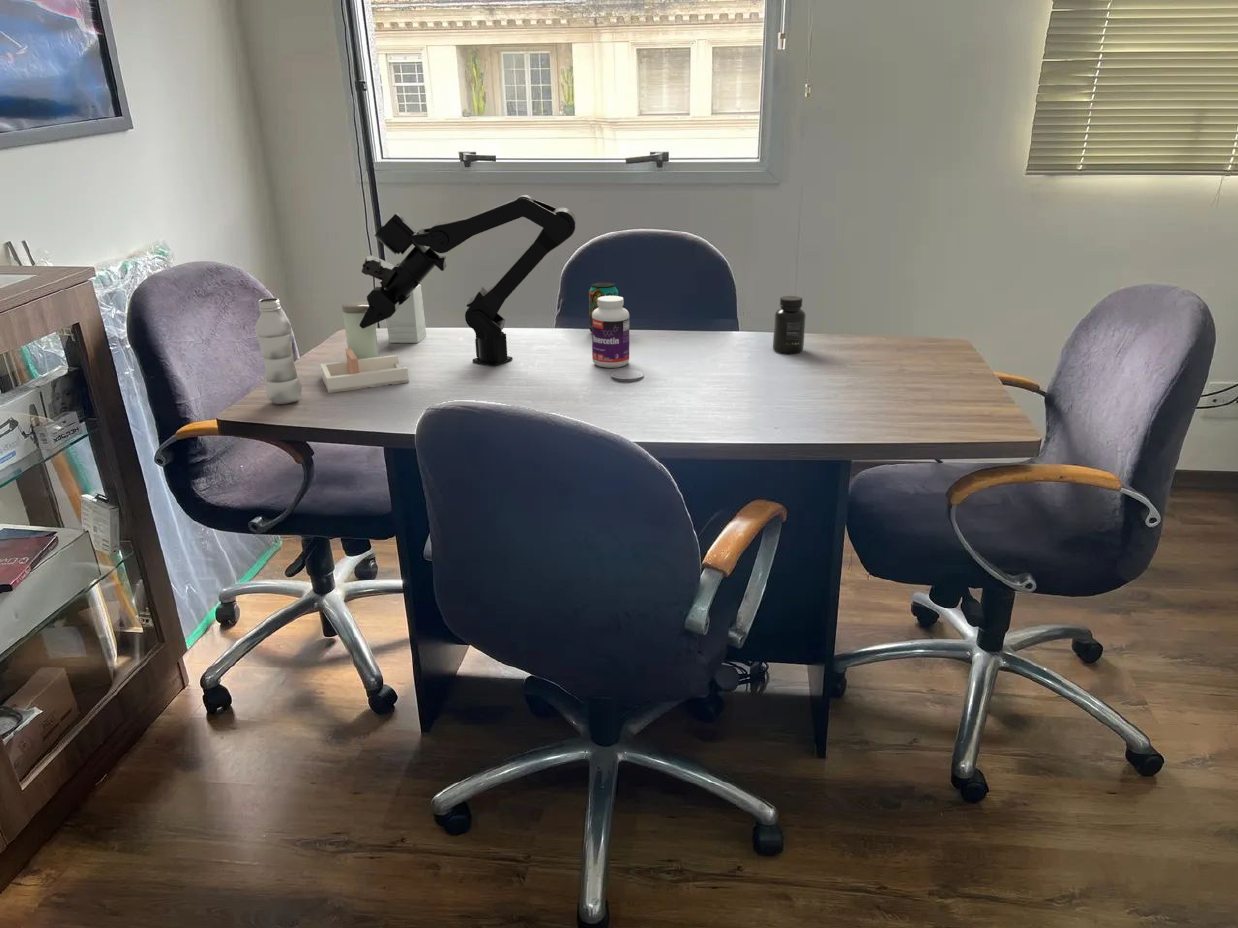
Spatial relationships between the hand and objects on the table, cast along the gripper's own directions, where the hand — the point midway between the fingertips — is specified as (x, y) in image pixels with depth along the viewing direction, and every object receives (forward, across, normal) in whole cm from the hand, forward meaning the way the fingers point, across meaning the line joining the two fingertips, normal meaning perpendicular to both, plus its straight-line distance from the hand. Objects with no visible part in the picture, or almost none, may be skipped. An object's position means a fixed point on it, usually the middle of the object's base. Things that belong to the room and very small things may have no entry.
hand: (366, 321), depth 193 cm
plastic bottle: (+14, +26, 0) cm, 29 cm away
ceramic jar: (+8, 0, +6) cm, 9 cm away
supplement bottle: (-60, -5, +72) cm, 94 cm away
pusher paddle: (+6, +13, +6) cm, 16 cm away
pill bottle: (-31, +3, +44) cm, 54 cm away
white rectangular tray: (+5, +12, +8) cm, 16 cm away
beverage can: (-30, -23, +43) cm, 57 cm away
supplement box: (+4, -20, +10) cm, 22 cm away
